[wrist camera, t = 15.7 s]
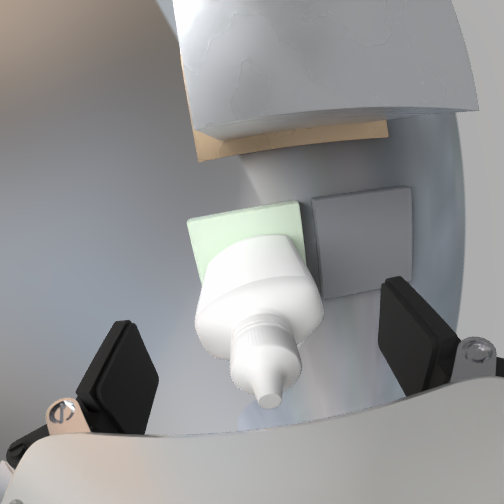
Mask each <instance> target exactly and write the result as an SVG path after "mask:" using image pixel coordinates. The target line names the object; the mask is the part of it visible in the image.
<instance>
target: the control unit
mask: <svg viewBox="0 0 504 504" xmlns="http://www.w3.org/2000/svg"><path fill="white" fill-rule="evenodd" d="M173 3H174V10H175V17H176V24H177V31H178V38H179V45H180V51H181V55H180V57H181V63H182V70H183V76H184V82H185V88H186V94H187V100H188V106H189V111H190V117H191V122H192V128H193V134H194V140H195V145H196V150H197V155H198V160H199V162H202V161H207V160H212V159H217V158H223V157H228V156H234V155H239V154H245V153H251V152H257V151H264V150H270V149H277V148H284V147H291V146H299V145H307V144H315V143H324V142H334V141H345V140H356V139H370V138H386V137H389V135H388V128H387V121H386V120H389V119H397V118H404V117H412V116H421V115H430V114H440V113H452V112H466V111H479V106H478V100H477V94H476V89H475V84H474V79H473V74H472V70H471V65H470V61H469V57H468V53H467V49H466V45H465V42H464V38H463V35H462V32H461V28H460V25H459V22H458V19H457V16H456V13H455V11H454V8H453V5H452V2H451V0H173Z"/></svg>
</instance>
